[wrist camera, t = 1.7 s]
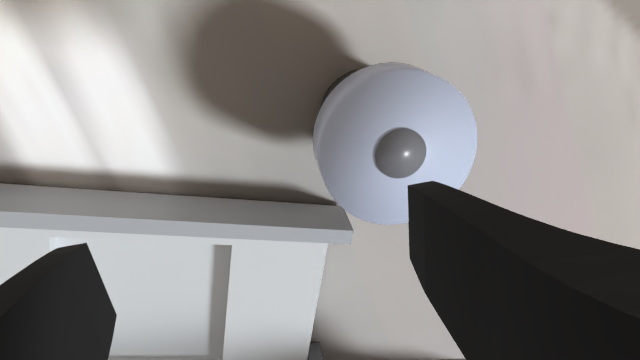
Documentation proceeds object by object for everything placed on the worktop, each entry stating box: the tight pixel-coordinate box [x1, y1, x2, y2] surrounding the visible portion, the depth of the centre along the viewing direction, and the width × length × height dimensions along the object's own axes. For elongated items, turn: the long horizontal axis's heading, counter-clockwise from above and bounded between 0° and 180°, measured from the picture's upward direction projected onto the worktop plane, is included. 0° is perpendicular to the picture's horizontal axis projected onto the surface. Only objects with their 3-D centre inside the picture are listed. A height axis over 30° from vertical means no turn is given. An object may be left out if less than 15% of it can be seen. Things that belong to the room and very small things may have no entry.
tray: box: [0, 183, 354, 360], centre depth 20 cm, size 18×11×2 cm, turn 81°
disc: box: [313, 62, 477, 224], centre depth 16 cm, size 6×6×2 cm
